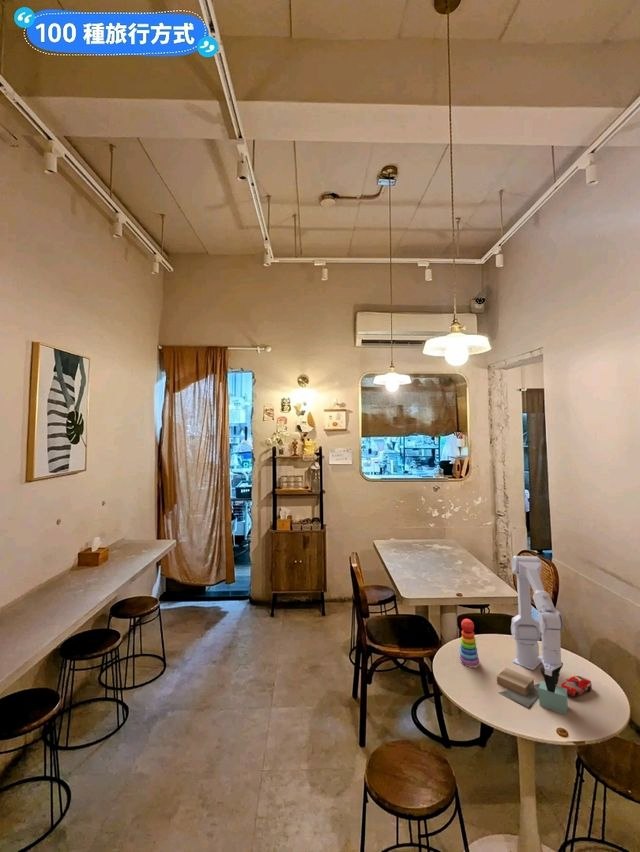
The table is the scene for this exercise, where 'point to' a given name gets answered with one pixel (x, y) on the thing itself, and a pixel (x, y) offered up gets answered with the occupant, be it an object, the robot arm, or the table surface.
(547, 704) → the teal brick
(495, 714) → the table surface
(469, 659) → the stacking toy
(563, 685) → the race car
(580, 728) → the table surface
